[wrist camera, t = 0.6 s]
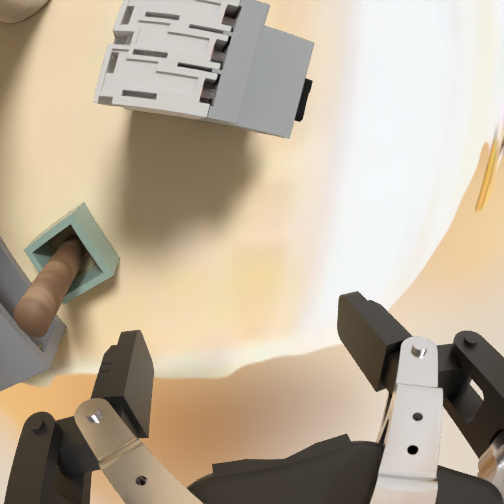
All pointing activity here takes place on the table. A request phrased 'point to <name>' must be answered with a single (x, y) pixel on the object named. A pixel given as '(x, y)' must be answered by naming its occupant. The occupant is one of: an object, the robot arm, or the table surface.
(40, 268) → the holder
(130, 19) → the circuit breaker
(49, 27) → the table surface
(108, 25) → the table surface
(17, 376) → the gray open box frame
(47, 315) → the brown rounded rod
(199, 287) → the table surface
